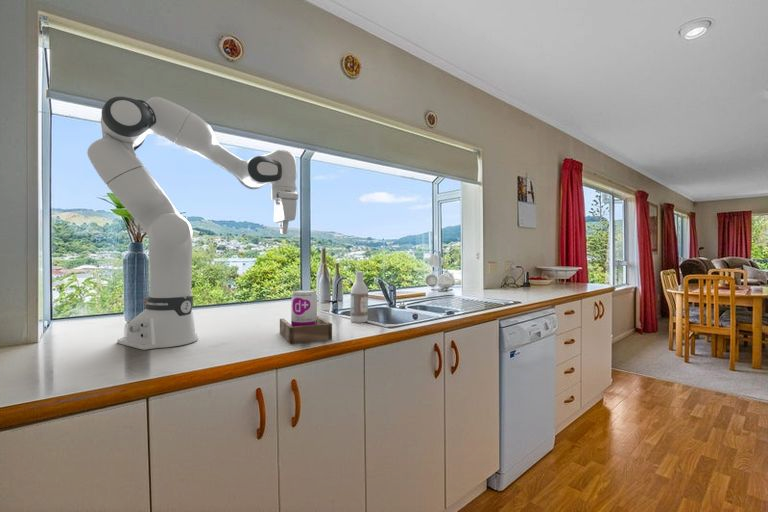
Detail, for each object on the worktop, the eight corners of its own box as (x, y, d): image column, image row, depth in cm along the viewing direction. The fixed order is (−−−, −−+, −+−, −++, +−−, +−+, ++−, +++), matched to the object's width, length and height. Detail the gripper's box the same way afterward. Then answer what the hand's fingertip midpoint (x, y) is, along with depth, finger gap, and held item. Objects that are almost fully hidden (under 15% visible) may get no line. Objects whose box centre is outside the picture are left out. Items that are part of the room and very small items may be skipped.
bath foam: (357, 323, 142) (358, 272, 142) (346, 321, 147) (347, 271, 147) (371, 321, 147) (371, 271, 147) (359, 318, 152) (360, 270, 152)
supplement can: (310, 340, 117) (310, 293, 116) (286, 338, 118) (287, 292, 118) (320, 334, 125) (320, 290, 124) (297, 332, 126) (298, 289, 126)
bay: (279, 333, 125) (279, 318, 125) (317, 329, 131) (317, 315, 131) (290, 344, 112) (290, 327, 112) (331, 339, 118) (332, 324, 118)
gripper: (269, 198, 141) (269, 234, 142) (281, 192, 123) (280, 233, 124) (286, 200, 144) (286, 235, 145) (299, 193, 126) (299, 233, 127)
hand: (283, 234), depth 134 cm, fingers closed
